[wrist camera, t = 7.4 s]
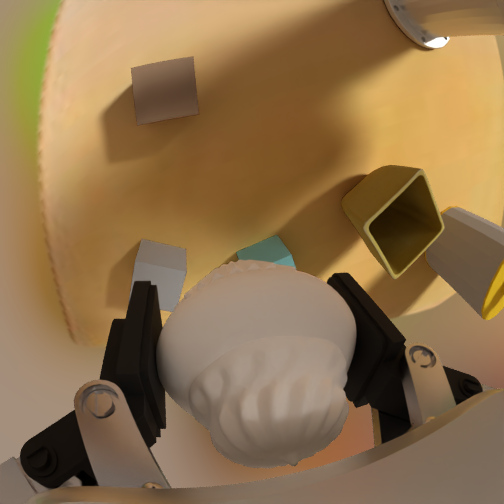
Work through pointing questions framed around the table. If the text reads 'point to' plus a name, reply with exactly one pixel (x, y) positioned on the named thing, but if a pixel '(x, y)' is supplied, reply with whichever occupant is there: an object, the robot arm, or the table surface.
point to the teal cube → (268, 252)
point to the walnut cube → (164, 90)
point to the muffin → (260, 361)
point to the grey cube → (161, 271)
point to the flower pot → (394, 215)
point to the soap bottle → (471, 259)
